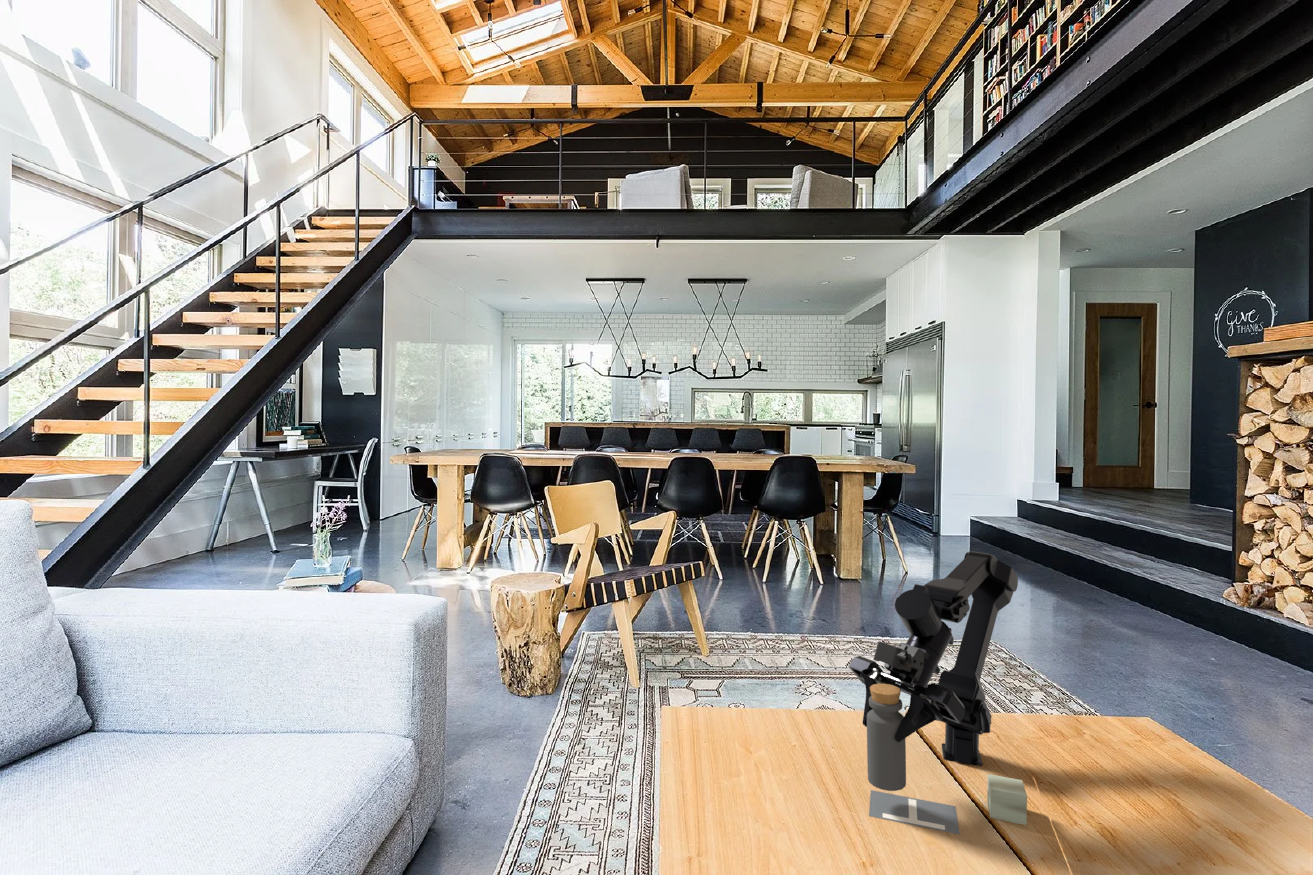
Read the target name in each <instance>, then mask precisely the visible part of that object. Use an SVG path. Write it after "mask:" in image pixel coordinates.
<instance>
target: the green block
mask: <svg viewBox="0 0 1313 875" xmlns="http://www.w3.org/2000/svg"><path fill="white" fill-rule="evenodd" d="M986 787H987V789H986V794H987V795H986V801H987V802H986V804H987V807H988V813H989V818H990V819H995V820H1000V821H1005V822H1008V823H1013V824H1019V825H1022V826H1023V825H1024V826H1027V822H1028V820H1027V819H1028V794H1027V791H1026V789H1025V788H1026V787H1025V785H1024V782H1023V779H1017V778H1011V777H1007V776H1006V777H1005V776H1002V775H996V774H989V773H987V786H986Z"/></svg>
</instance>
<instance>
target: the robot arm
mask: <svg viewBox="0 0 1313 875" xmlns="http://www.w3.org/2000/svg"><path fill="white" fill-rule="evenodd" d="M1018 578H1019V577H1018V574H1017V573H1016V571H1015V569H1013V567H1012V566H1010V565H1008V564H1006V563H1004V562H1003V561H1001V560H1000V559H998V558H997V557H996V555H993V554H992V553H987V552H981V551H972V550H971V551H967V552H966V553H965V554H964V557H963V559H962V560H961V561H960V562H959V564H957V566H956V567H955V568H954V569H953V570H952V571H950V573H949V574H947V575H946V576H945V577H944V578H940V579H932V580H930V581H929V582H927V583H925V584H924V585H922V584H916V583H915V584H914V585H913V588H912V589H908V590H906V591H903V592H902V593H901V594H899V596H898V597H896V599H895V602H894V608H895V611H896V613H897V615H898V617H899V618H900V620H901V621H902V624H903V625H904V627H905V629H906V631H907V632H908V633H909V634H910V635H909V638H908V639H907V641H906V642H905V643H904V642H900V643H898V645H897V646H894V645H892V644H889V643H886V642H883V641H880V640H879V641H878V642H877V644H876V645H877V646H876V648H875V653H874V655H873V660H872V659H870V658H867V657H864V656H861V655H857V656H855V657H853V659H852V660H851V662H850V664H849V665H848V668H849V670H851V672H852V673H853V674H854V675H855V676H856V677H857V678H858V680H859V681H860V682H861V683H862V684H863V685H864V686H865V703H864V708H863V716H862V725H863V726H864V727H866V728H867V713H868V712H869V711H870V710H872V709H873V708H872V707H870V705H869V697H870V696H871V691H870V686H872V685H874V684H890V685H893V686H896V687H898V688H899V689H900V690H901V692H902V693H904V694H905V695H906V694H907V695H910V699H909V700H910V701H909V706H908V709H907V711H906V713H904V714H905V715H903V716H904V718H903V720H902V722H901V724H900V726H899V728H898V730H897V732H896V735H895V738H894V739H895V740H896V741H897V742H901V741H902V740H903V739H905V740H906V739H907V738H908V737H909V736H910V735H912V734H913V733H915V732H917V731H918V730H920V729H921V728H923V727H925V726H927V725H929V724H931V723H933V722H935V721H937V722H943V723H945V733H944V736H945V738H944V743H943V742H942V743H941V752H942V759H943V760H945V761H948V762H954V763H960V764H965V765H966V764H967V765H972V766H977V767H983V765H984V764H983V760H982V756H981V752H980V750H979V748H980V745H979V744H980V743H979V742H980V736H982V735H983V734H990V733H991V725H992V714H991V712H990V710H989V707H988V706H987V704H986V698H987V697H986V693H985V691H984V688H983V686H982V682H981V677H982V674H983V671H984V670H983V669H984V666H985V662H986V659H987V658H986V657H987V654H988V650H989V647H990V643H991V640H992V636H993V633H994V629H995V624H996V620H997V616H998V614H999V612H1000V611H1001V610H1002V609H1003V608H1005V607H1006V606H1007V605H1009V604H1010V603H1011V602H1012V601H1011V600H1012V597H1013V595H1014V593H1015V592H1016V591H1017V589H1018V585H1019V579H1018ZM970 596H971V597H972V603H971V607H970V604H969V598H970ZM967 616H968V617H967ZM965 617H967V619H966V620H967V621H966V624H965V628H964V631H963V635H962V639H961V641H960V645H959V649H958V652H957V656H956V658H955V659H956V660H955V663H954V666H953V667H952V668H951V669H949V670H945V669H944V670H943V671H942V672H941V668H939V666H938V665H939V663H940V661H941V659H942V657H943V656H944V653H945V651H946V650H947V647H948V645H949V646H950V645H951V646H952V645H953V644H954V643H955V642H954V637H953V633H952V628H951V627H949V625H948V624H947V623H946V622H944V621H947V622H951V623H956V624H959V623H961V622H962V620H963V619H964V618H965ZM877 662H882V663H884V664H883V667H884V668H885V669H886V670H887V671H888V672H889V673H887V672H885V671H884V670H883V669H882V668H881V667H880V666H879V664H878V663H877ZM940 672H941V673H940ZM939 673H940V675H939ZM934 674H935V675H937V676H938V675H939V680H938V683H934V682H931V683H929V682H930V681H931V679H932V677H933V675H934Z"/></svg>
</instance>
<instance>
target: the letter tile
mask: <svg viewBox="0 0 1313 875" xmlns="http://www.w3.org/2000/svg"><path fill="white" fill-rule="evenodd" d="M869 794H870V796H869V806H868V807H869V809H868V817H872V818H875V819H881V820H887V821H891V822H895V823H900V824H905V825H911V826H916V827H920V828H925V829H931V830H935V831H938V832H939V831H940V832H945V833H950V834H954V835H959V836H960V835H961V833H960V832H961V831H960V827H959V821H958V814H957V808H956V806H955V805H952V804H946V803H941V802H937V801H930V800H926V799H920V798H915V797H910V796H904V795H899V794H894V793H888V792H885V791H877V790H873V789H870V793H869Z"/></svg>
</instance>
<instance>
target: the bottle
mask: <svg viewBox="0 0 1313 875" xmlns="http://www.w3.org/2000/svg"><path fill="white" fill-rule="evenodd" d="M870 691H871V696H870V697H869V705H870V707H872V708H873V709H872V710H870V711H869V712H868V713H867V727H866V748H867V749H866V753H867V754H866V757H867V758H866V759H867V760H866V761H867V780H868V783H869V784H871V786H873V787H875V788H876V789H879V790H881V791H882V790H883V791H888V792H895V791H897V792H898V791H900V790H904V789H905V788H906V786H907V758H906V757H907V751H906V747H907V746H906V742H907V741H906V738H905V739H903V740H902V741H901V742H897V741H896V740H895V739H894V738H895V735H896V732H897V730H898V728H899V726H900V724H901V722H902V720H903V718H904V716H905V715H903V714H902V713H901V712H900V711H901V710H902V709H903V701H902V700H901V699H900V697H901V690H900V689H899V688H898V687H896V686H893V685H890V684H874V685H872V686H870Z"/></svg>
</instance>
